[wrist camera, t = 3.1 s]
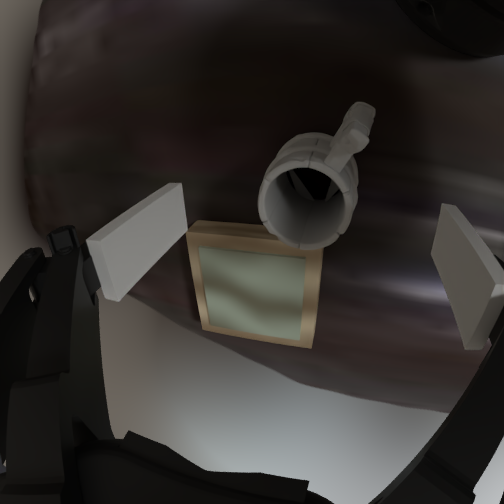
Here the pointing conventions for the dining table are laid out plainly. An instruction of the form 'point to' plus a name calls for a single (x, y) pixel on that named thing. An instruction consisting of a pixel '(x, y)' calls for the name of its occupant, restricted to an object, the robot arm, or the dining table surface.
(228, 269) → the stand
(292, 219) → the mug
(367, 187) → the dining table surface
